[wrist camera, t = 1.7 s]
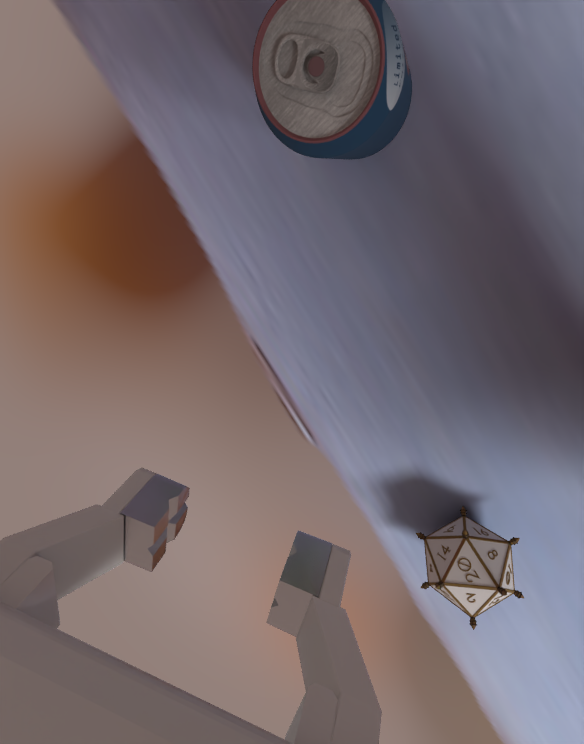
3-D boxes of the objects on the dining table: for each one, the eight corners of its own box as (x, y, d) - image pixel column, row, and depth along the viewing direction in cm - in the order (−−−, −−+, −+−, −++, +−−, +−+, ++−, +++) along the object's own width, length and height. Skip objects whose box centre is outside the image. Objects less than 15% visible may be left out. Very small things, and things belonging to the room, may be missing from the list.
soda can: (430, 50, 26) (428, -24, 15) (390, 171, 29) (366, 176, 19) (324, 23, 27) (256, -63, 16) (297, 144, 30) (227, 135, 20)
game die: (442, 501, 44) (380, 534, 38) (520, 492, 38) (459, 530, 32) (474, 589, 43) (413, 638, 37) (561, 595, 36) (506, 657, 30)
